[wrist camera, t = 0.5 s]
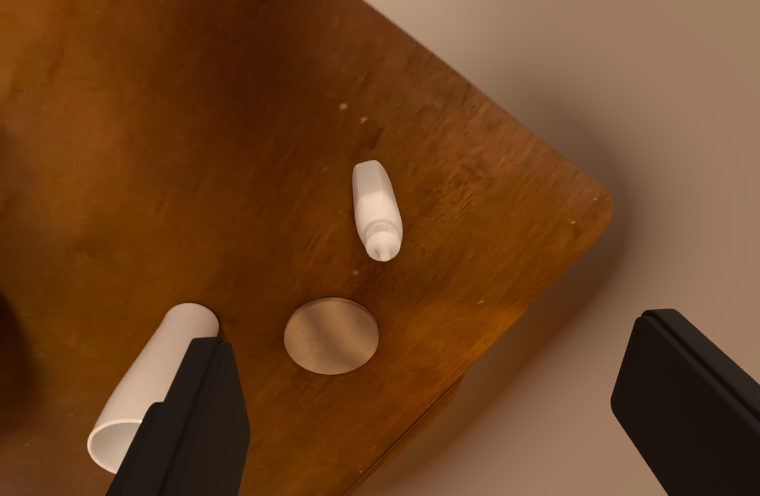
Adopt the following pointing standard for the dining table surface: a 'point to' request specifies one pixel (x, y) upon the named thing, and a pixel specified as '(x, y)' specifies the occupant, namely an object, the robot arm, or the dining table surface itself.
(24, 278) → the dining table surface
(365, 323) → the cork trivet
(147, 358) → the drinking glass
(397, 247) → the eye dropper bottle
